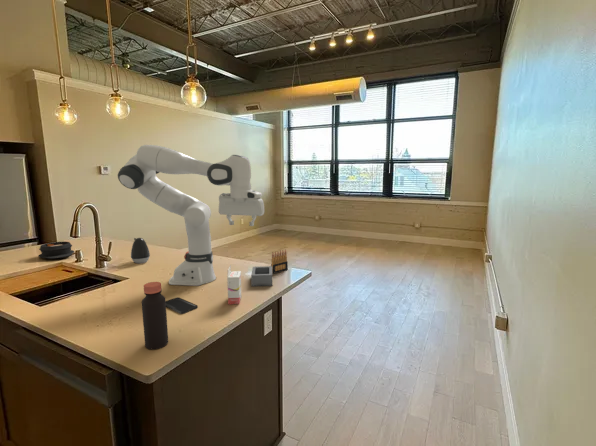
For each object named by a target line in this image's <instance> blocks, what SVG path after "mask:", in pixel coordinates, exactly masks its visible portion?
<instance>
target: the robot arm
mask: <svg viewBox="0 0 596 446" xmlns="http://www.w3.org/2000/svg"><path fill="white" fill-rule="evenodd" d="M119 169H120V170H119V171H118V172H117V179H118V181H119V182H120V184H121V185H122V186H123V187H125V188H127V189H130V190H136V189H137V192H138V193H139V194H140V195H142V196H143V197H144V198H146V199H147V200H148V201H150V202H152V203H153V204H156V205H158V206H159V207H161V208H162V209H164V210H166V211H167V212H170V213H173V214H176V215H179V216H181V217H182V218H184V224H185V231H186V237H187V247H188V248H187V250H188V251H186V252H185V254H184V256H183V259H184V261H182V262H181V263H180V264H178V265H177V266H176V267H175V269H174V272H173V275H172V276H171V277H170V278H169V279H168V284H169V285H170V286H171V285H172V286H173V285H174V286H194V287H199V286H202V285H203V284H207V283H211V282H214V281H216V278H217V277H216V273H215V270H214V265H213V262H214V255H213V251H212V236H211V229H210V219H211V216H212V210H211V207H210V206H209V205H208V204H207V203H205V202H203V201H202V200H199V199H197V198H195V197H194V196H191V195H188V194H187V193H185V192H182V191H181V190H179V189H177V188H176V187H174V186H171V184H169V183H166V182H164V181H163V180H162V179H159V178H158V176H157V174H159V173H162V174H167V175H185V174H186V175H190V174H193V175H199V176H204V177H207V180H208V181H209V182H210V184H212V185H214V186H217V187H219V186H221V187H222V186H230V187H229V188H230V190H229V191H230V193H229V192H225V193H224V192H223V193H221V194H219V196H218V201H219V202H218V213H219V214H220V215H226V219H227V220H228V222H229V223H228V225H229V226H235V220H233V219H232V216H249V217H251V219H252V220H251V221H249V222H248V223H249V226H250V227H254V226H255V221H256V219H257V217H262V216H264V214H265V203H264V202H265V201H264V200H263V198H262V197H263V193H262V192H260V191H257V190H254V189H252V183H251V179H252V170H251V169H252V168H251V162H250V159H249V158H248V157H246V156H244V155H238V154H231V155H230V156H229V157H228V158H226V159H224V160H222V161H218V162H215V163H211V162H209V161H208V162H207V161H205V160H204V161H203V160H199V159H197V158H193V157H191V156H189V155H187V154H184V153H182V152H181V151H179V150H178V151H177V150H175V149H172V148H170V147H165V146H161V145H155V144H143V145H141V146H140V147H139V148H138V149H137V151H136V153H135V155H133V156H132V157H131V158H130V159H128V161H127V162H126V163H125V164H124V166H122V167H121V168H119Z"/></svg>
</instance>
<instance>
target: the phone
mask: <svg viewBox="0 0 596 446" xmlns="http://www.w3.org/2000/svg"><path fill="white" fill-rule="evenodd" d="M167 308H168V309H169V310H172V311H174V312H175V313H177V314H179V315H183V314H186V313H189V312H191V311H194V310H197V309H198V305H197V304H196V303H193V302H190V301H188V300H186V299H183V298H181V297H177V296H176V297H174V298H171V299H168V300H166V309H167Z"/></svg>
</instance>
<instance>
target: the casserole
mask: <svg viewBox="0 0 596 446" xmlns="http://www.w3.org/2000/svg"><path fill="white" fill-rule="evenodd" d="M72 247H73V244H71V242H70V241H52V242H48V243H47V242H46V243H43V244H40V247H39V248H38V249H39V250H40V254H39V255H38V258H43V259H50V260H51V259H53V260H55V259H59V258H60V259H61V258H66V257H70V256H73V255H72V254H74V253H75V251H74V250H72Z"/></svg>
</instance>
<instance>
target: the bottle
mask: <svg viewBox="0 0 596 446" xmlns="http://www.w3.org/2000/svg"><path fill="white" fill-rule="evenodd" d="M162 291H163V290H162V283H161V282H159V281H151V282H147V283H145V284H143V292H144V295H145V296H144V297H143V299H142V300H141V309H142V310H141V311H142V324H143V335H144V337H143V338H144V347H145V348H146V349H147V350H159V349H162V348H164V347H165V346H167V345H168V343H169V332H168V319H167V318H168V317H167V307H166V301H167V300H166V297H165V296H164V295H163V294H161V293H162Z"/></svg>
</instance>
